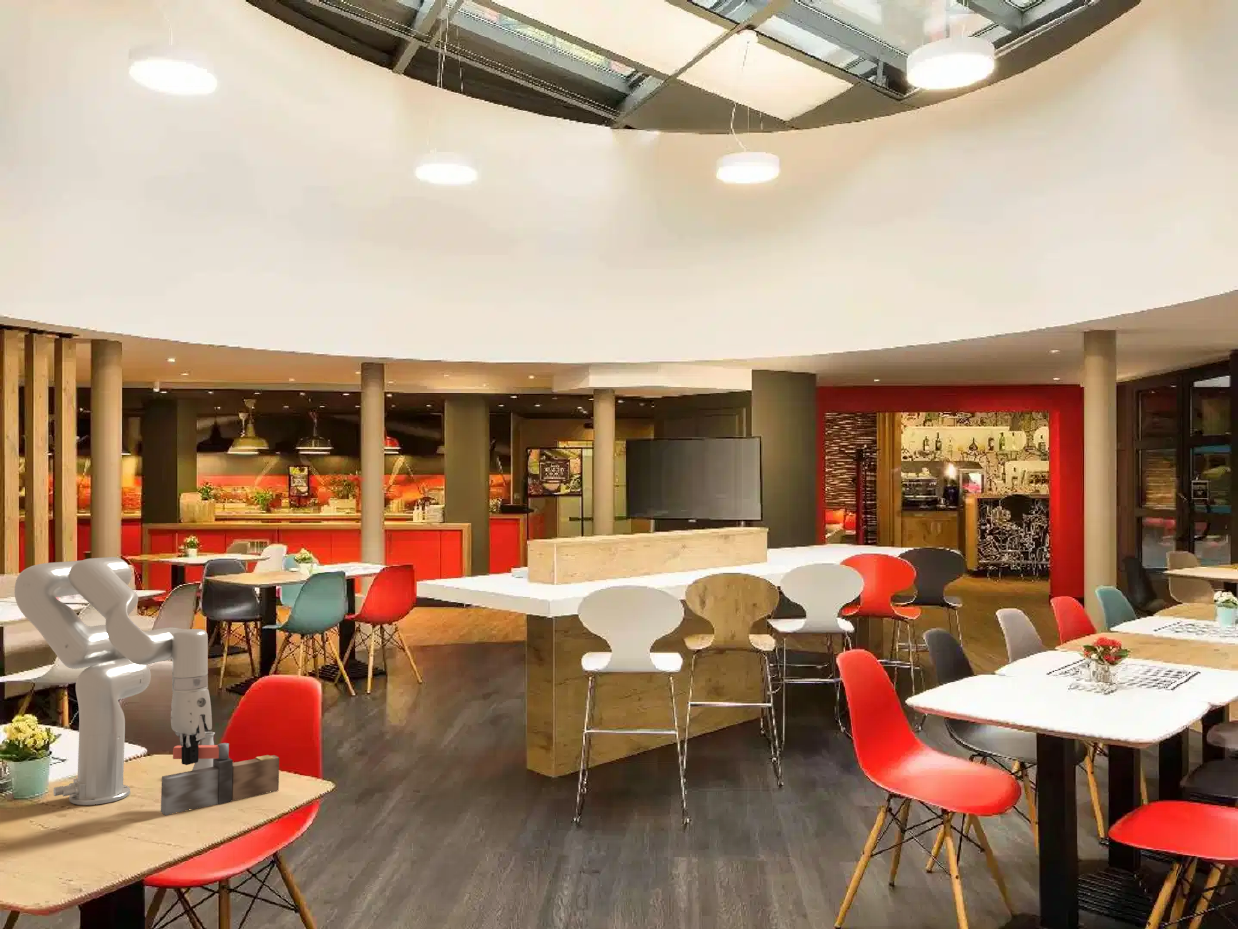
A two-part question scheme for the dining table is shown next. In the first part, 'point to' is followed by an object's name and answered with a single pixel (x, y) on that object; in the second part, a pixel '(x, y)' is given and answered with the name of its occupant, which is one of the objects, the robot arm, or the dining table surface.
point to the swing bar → (206, 751)
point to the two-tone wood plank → (219, 783)
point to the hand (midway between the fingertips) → (190, 763)
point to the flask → (205, 762)
